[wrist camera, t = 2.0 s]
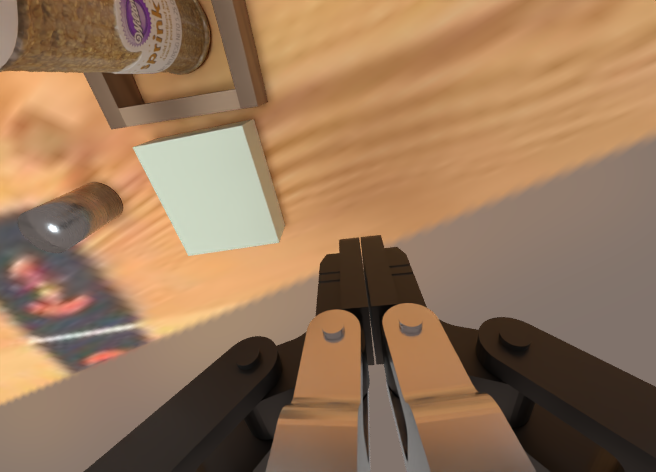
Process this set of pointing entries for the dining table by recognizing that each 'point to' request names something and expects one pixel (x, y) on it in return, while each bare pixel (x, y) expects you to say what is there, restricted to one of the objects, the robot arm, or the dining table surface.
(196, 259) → the dining table surface
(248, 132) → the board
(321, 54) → the dining table surface
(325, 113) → the dining table surface
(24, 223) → the cylinder
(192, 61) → the sprinkles bottle
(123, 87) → the socket block
